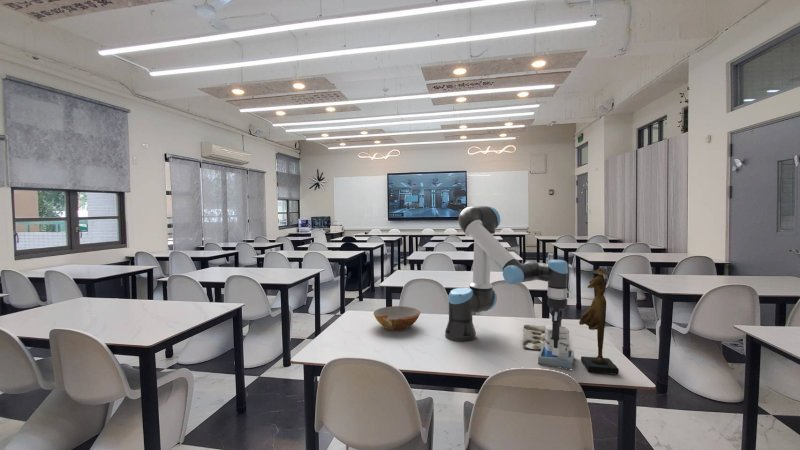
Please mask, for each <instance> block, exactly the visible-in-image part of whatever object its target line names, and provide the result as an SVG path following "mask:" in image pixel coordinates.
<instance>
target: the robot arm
mask: <svg viewBox="0 0 800 450" xmlns="http://www.w3.org/2000/svg"><path fill="white" fill-rule="evenodd" d="M458 224H459V227H460V229H461V230H462V232H463V233H464V234H465V235H466V236H467V237H471V238H472V240H474V241H473V269H472V281H471V282H470V284H469V287H457V288H456V287H455V288H453V289H451V290H449V291H450V292H449V293H448V321H447V325H446V328H445V335H444V336H445V337H446V339H449V340H451V341H455V342H471V341H474V340H475V339H477V332H476V328H475V325H474V321H473V314H475V313H482V312H487V311H489V310H492V309H493V308H494V307H495V306H496V303H497V302H498V301H497V300H498V296H497V293H496V291H495V290H494V287H493V285H492V283H491V262H492V261H493V262H494V263H495V264H496V266H498V267H499V269H501V271H502V277H503V279H504V282H505V283H507V284H511V285H513V284H516V285H517V284H521V283H526V282H533V281H543V282H547V306H548V307H549V308H552V311H551V322H552V323H551V326H552V338H550V339H552V355H557V356H559V346H560V340H559V329H560V326H562V320H563V310H565V309H567V307H568V299H567V298H568V294H569V292H570V291H569V290H568V274H569V267H568V262H567V261H566V260H563V259H549V260H548V263H544V262H543V263H542V262H537V261H530V260H529V261H525V262H524V263H520V261H519V260H517V259H516V258H515V257H514V256H513V255H512V254H511V253H510V252H509V250H507V248H506V247H504V246H503V244H502V243H501V242H499V240H498V239H497V238H496V237H495V236H494V235H495V234H496V229H497V228H498V227H499V226H500V224H501V216H500V213H499V211H498V210H497V209H495V207H492V206H487V205H484V206H483V205H482V206H475V205H474V206H471V205H470V206H467V207H464V209H462V210H461V212H459V216H458ZM491 260H492V261H491Z"/></svg>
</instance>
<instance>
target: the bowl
mask: <svg viewBox="0 0 800 450" xmlns="http://www.w3.org/2000/svg"><path fill="white" fill-rule="evenodd" d="M420 315H421V311H420V310H419V309H417V308H414V307H411V306H400V305H398V306H397V305H396V306H395V305H394V306H385V307H380V308H378V309H376V310H374V311H373V316H374V317H375V320H376V321H377V322H378V323H379V325H381V326H382V327H384V328H386V329H388V330H390V331H405V330H406V329H407V328H410V327H412V325H414V324H415V323H416V322H417V320H418V319H419V317H420Z"/></svg>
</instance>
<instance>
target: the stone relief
mask: <svg viewBox="0 0 800 450" xmlns="http://www.w3.org/2000/svg"><path fill="white" fill-rule="evenodd" d="M545 326H546V325H542V326H541V325H533V324H524V325H523V328H522V331H523V336H522V337H523V338H522V341H521V342H522V348H525V349H529V350H533V351H537V350H541V348H542V345H543V346H545ZM543 334H544V335H543ZM529 344H531V345H532V347H528V345H529Z"/></svg>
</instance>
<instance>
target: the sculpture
mask: <svg viewBox="0 0 800 450" xmlns="http://www.w3.org/2000/svg"><path fill="white" fill-rule="evenodd" d="M591 273H592V274H597V276H596V277H595V278H593V279H591V280H589V284H588V285H587V289H593V288H594V294H595V297H594V299H592V301H591V304H590V306H589V308H588V309H587V310H586V311H585V312H584V313H583V314H582V316H581V318H580V319H579V321H578V324H579V325H580V326H582V325H586V326H587V327H588V330H592V331H595V330H596V331H597V332H596V334H597V335H596V336H597V337H596V338H597V339H596V340H597V356H583V355H582V356H580V362H581V363H582V365H583V366H584V368H585V369H586V371H587V372H588V373H597V374H607V375H608V374H609V375H619V374H620V373H619V372H620V370H619V367H618V366H617V365H616V364H615V363H614V362H613V360H611V359H610V358H608V357H604V356H603V350H604V349H603V347H604V337H605V328H606V317H607V315H606V313H607V298H606V296H605V292H606V288H607V282H608V281H607V280H606V279H605V277H604V275H609V274H610V273H611V272H610V271H608V270H605V269H603V268H602V267H601V268H600V267H599V268H597V269H596V270H594V269H592V270H591Z"/></svg>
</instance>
